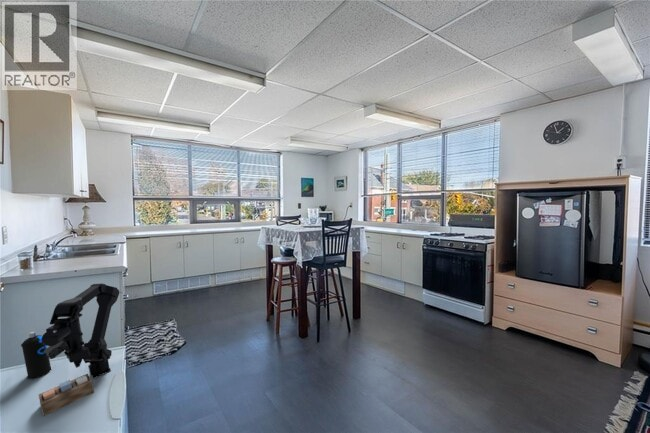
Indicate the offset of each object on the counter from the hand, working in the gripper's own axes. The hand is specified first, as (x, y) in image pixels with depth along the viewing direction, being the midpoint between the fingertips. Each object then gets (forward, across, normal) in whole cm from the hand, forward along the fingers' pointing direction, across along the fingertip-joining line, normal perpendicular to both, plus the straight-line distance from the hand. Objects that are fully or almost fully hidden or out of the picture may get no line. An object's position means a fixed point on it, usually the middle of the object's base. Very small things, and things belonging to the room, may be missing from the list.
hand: (77, 366), depth 121 cm
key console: (+11, +1, -5) cm, 12 cm away
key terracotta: (+9, +1, -10) cm, 13 cm away
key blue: (+8, +1, -5) cm, 9 cm away
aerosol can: (+11, -31, -9) cm, 34 cm away
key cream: (+9, +1, 0) cm, 9 cm away
